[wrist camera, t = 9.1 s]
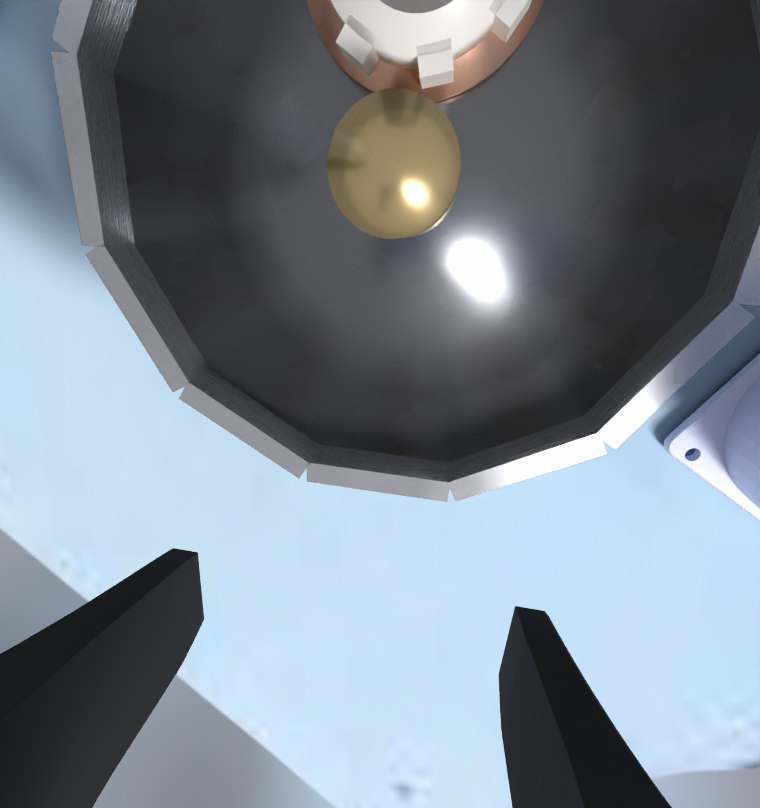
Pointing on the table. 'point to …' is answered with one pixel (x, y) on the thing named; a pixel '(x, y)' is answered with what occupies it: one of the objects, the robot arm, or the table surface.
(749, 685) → the table surface
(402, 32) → the gear
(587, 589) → the table surface
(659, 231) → the bowl
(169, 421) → the table surface
